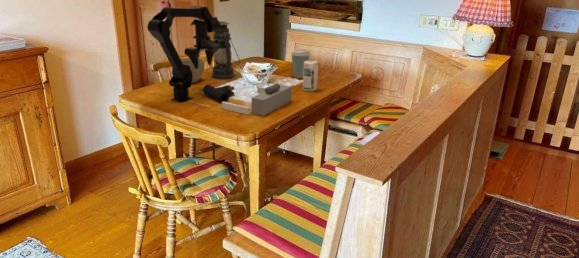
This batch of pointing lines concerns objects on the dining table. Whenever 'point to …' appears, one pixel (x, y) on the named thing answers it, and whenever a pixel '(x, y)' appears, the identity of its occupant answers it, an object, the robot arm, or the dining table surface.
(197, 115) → the dining table surface
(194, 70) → the planter bowl
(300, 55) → the disposable coffee cup
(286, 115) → the dining table surface
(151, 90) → the dining table surface
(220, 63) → the lantern
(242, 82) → the dining table surface
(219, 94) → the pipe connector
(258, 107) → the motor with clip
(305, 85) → the syrup box
